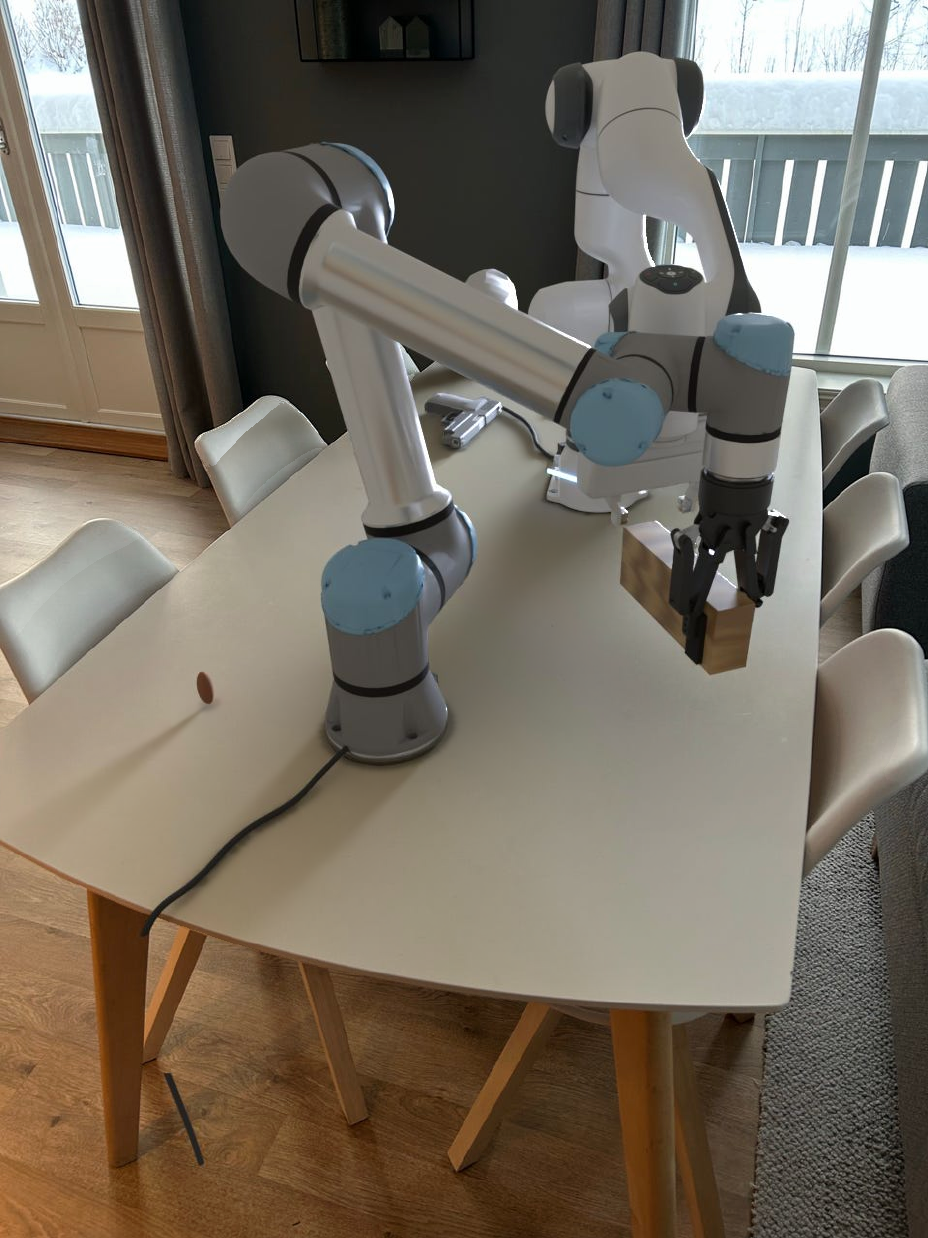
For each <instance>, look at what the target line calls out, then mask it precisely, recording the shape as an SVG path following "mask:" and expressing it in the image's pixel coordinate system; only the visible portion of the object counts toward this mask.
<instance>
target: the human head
mask: <svg viewBox="0 0 928 1238" xmlns="http://www.w3.org/2000/svg"><path fill="white" fill-rule="evenodd" d="M464 283H465V284H467V285H469V286H471V287H473V288H475V289H477V290H479V291H481V292H483V293H485V294H487V295H489V296H491V297H493V298H495V299H497V300H499V301H501V302H503V303H505V304H507V305H509V306H511V307H513V308H515V309H517V310H518V299H517V294H516V288H515V285H514V283H513V282H512V281H511V279H510V278H509V276H508V275H507V274H505V273H503V272H501V271H500V270H497V269H495V268H488V269H487V268H486V269H482V270H479V271H477V272H475V273H473V274H471V275H469V276H468V277H467V279H466V280H465V282H464Z"/></svg>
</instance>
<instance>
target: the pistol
mask: <svg viewBox="0 0 928 1238" xmlns="http://www.w3.org/2000/svg"><path fill="white" fill-rule="evenodd" d="M502 406H503V405H502V403H501V401H499V400H494V399H490V398H487V396H481V397H478V398H475V399H473V398H467V397H464V396H461V395H458V394H455V393H448V392H436V393H434V394H433V395H432V396H430V397H429V398H428V399H427V400H426V401H425V403H424V406H423V407H424V412H426V413H427V414H436V415H440V416H444V417H443V418H442V419H440V426H442V427H445V428H444V429H442V437H441V444H442V445H448V446H450V448H453V449H462V448H463V447H464V446H465V445H466V444H467V443H469V442H470V441H472V439H473V438H474V437H475V436H476V435H478V433H480V430H481V429H483V427H485V426H486V427H487V425H489V424H490V423H491V422H492V421H493V420H494V419H495V418H497V416H498V415H500V414H501V413H502V412H503V410H501V408H502Z"/></svg>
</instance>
